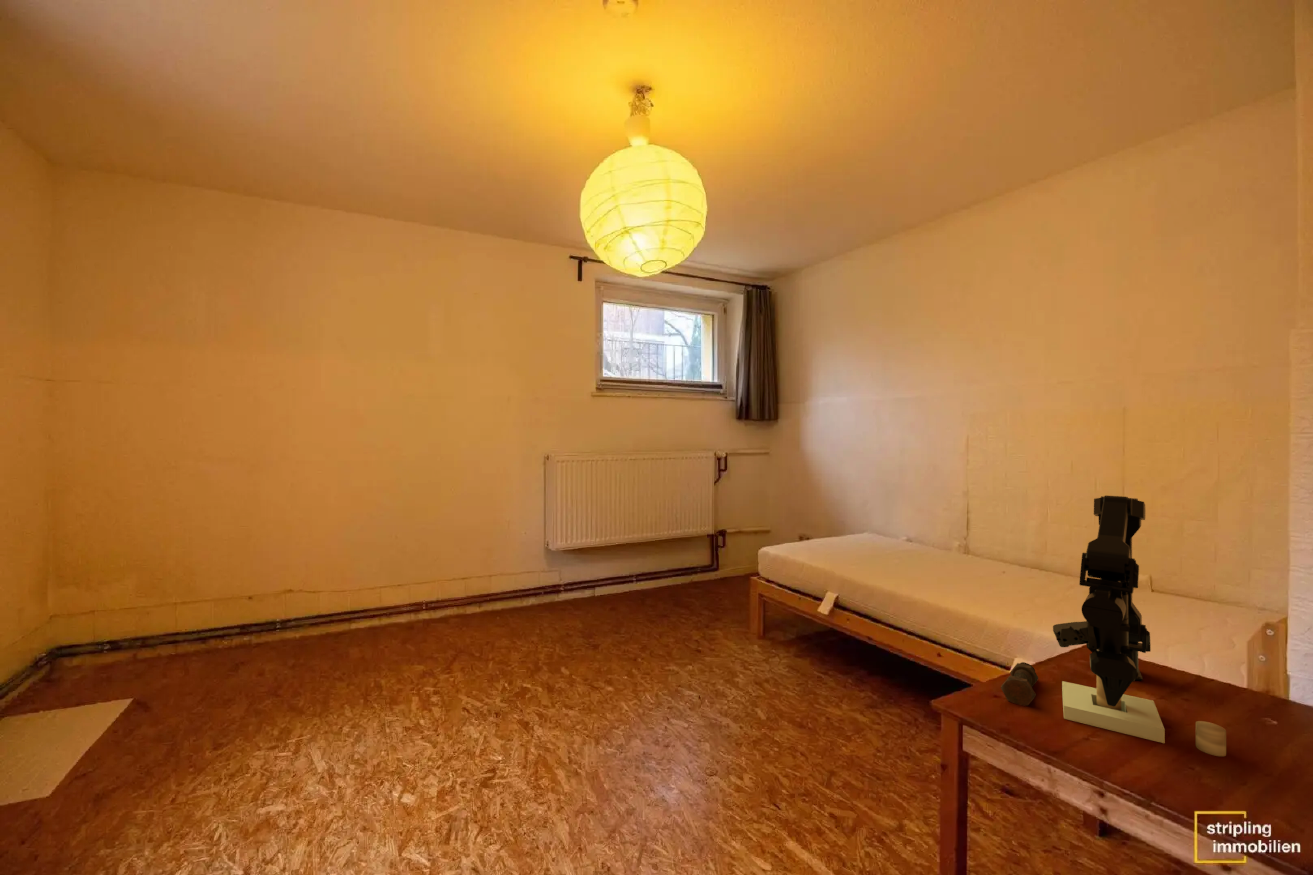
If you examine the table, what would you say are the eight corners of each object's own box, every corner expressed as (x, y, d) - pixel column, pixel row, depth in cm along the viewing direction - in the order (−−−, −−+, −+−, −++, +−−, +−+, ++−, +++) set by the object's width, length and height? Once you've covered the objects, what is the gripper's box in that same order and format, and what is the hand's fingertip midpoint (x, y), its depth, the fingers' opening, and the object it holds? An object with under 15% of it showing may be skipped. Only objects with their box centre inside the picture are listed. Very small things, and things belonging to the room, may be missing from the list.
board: (1062, 692, 110) (1062, 680, 110) (1153, 713, 102) (1153, 700, 102) (1063, 718, 101) (1063, 705, 101) (1164, 743, 92) (1164, 729, 92)
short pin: (1193, 741, 93) (1193, 718, 93) (1223, 748, 91) (1222, 725, 91) (1198, 751, 90) (1198, 728, 90) (1228, 758, 88) (1228, 735, 88)
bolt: (1030, 686, 117) (1021, 712, 106) (1007, 669, 120) (996, 692, 109) (1046, 667, 115) (1039, 691, 104) (1022, 650, 118) (1013, 672, 107)
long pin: (1120, 714, 102) (1120, 673, 102) (1122, 723, 99) (1122, 680, 99) (1096, 708, 104) (1095, 668, 104) (1097, 717, 101) (1097, 675, 101)
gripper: (1055, 594, 113) (1055, 666, 113) (1056, 620, 98) (1057, 703, 98) (1123, 604, 107) (1124, 680, 107) (1136, 633, 92) (1137, 722, 92)
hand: (1108, 695), depth 101 cm, fingers open, 9 cm apart
